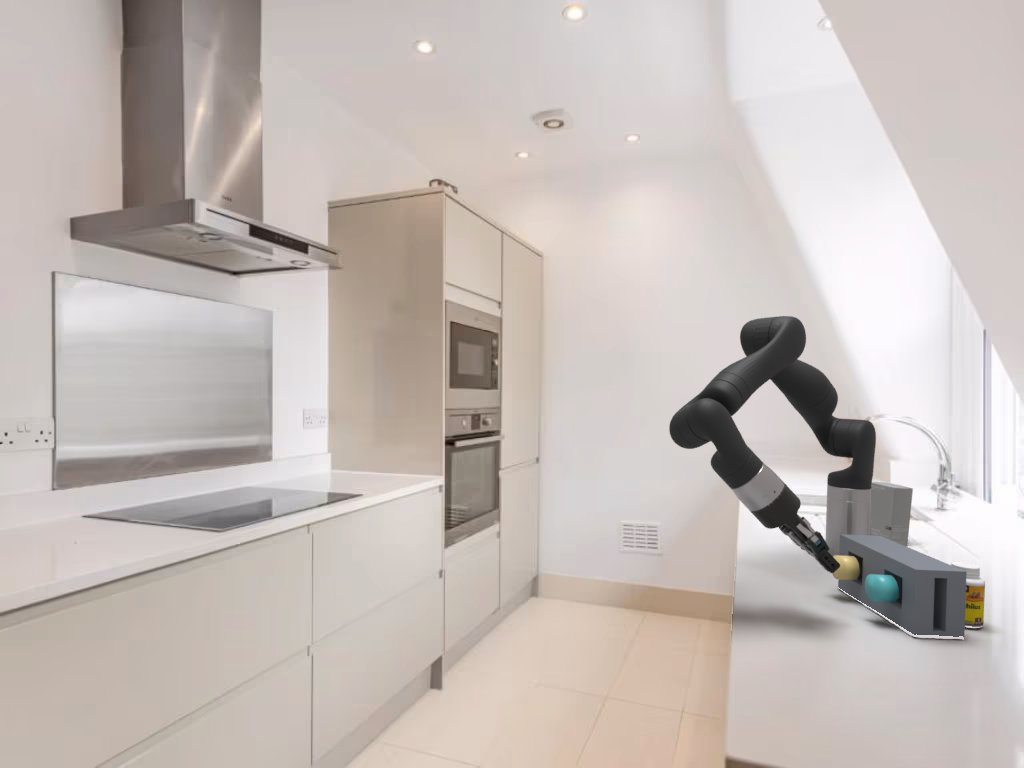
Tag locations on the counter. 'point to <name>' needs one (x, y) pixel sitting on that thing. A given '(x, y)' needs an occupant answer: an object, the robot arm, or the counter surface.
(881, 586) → the teal button
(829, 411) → the robot arm
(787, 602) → the counter surface
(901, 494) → the skincare box
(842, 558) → the mustard button
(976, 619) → the supplement bottle
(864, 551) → the console
